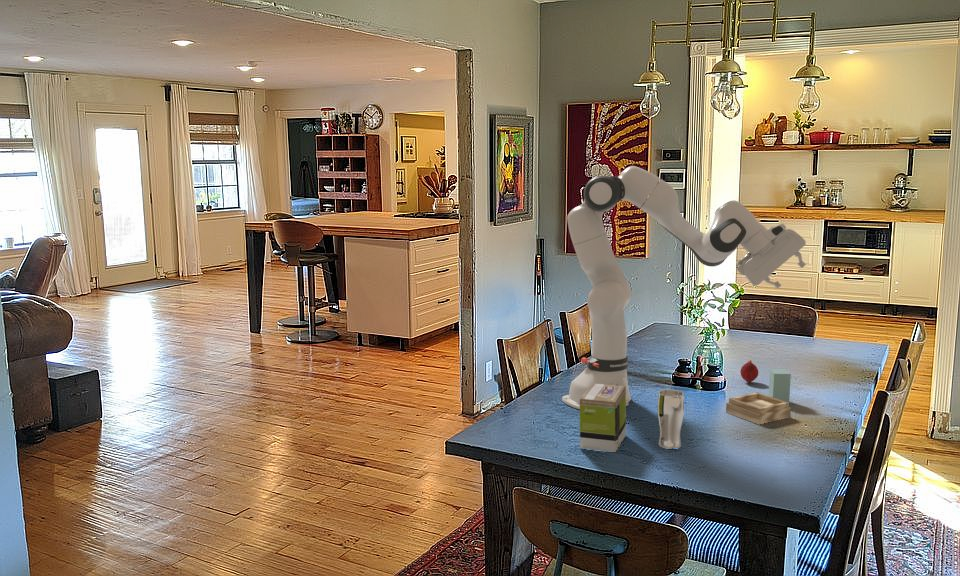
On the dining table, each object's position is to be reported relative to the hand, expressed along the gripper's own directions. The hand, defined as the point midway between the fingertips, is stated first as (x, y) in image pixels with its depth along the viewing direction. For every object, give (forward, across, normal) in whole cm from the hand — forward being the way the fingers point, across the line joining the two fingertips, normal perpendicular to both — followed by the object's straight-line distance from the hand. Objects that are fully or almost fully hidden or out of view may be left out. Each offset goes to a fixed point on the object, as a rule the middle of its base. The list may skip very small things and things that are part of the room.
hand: (791, 276), depth 240 cm
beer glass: (+11, -59, -33) cm, 69 cm away
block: (+28, -28, +10) cm, 41 cm away
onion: (+21, -30, +30) cm, 47 cm away
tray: (+24, -36, -3) cm, 43 cm away
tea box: (-1, -72, -34) cm, 80 cm away
